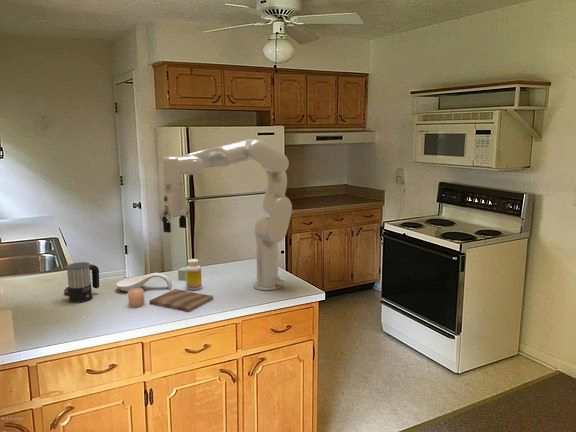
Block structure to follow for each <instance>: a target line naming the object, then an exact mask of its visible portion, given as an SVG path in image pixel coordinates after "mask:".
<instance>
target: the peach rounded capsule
mask: <svg viewBox="0 0 576 432" xmlns="http://www.w3.org/2000/svg"><path fill="white" fill-rule="evenodd" d="M144 293H145V292H144V288H142V287H141V288H134V289H130V290H129V291H128V292H127V299H128V307H129V306H130V307H129V308H132V307H136V308H141V307H143V306H145V294H144ZM140 306H141V307H140Z"/></svg>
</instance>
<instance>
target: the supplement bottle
mask: <svg viewBox="0 0 576 432" xmlns="http://www.w3.org/2000/svg"><path fill="white" fill-rule="evenodd" d="M185 267H186V281H185V282H186V283H185V284H186V286H185V287H186V289H187V291H196V290H200V289H202V267H201V265H199V259H197V258H191V259H188V260H187V266H185Z"/></svg>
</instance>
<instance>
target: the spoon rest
mask: <svg viewBox="0 0 576 432" xmlns="http://www.w3.org/2000/svg"><path fill="white" fill-rule="evenodd" d="M152 278H160V279H162V280H163V281H165V282H166V285H167V289H168V290H171V289H172V286H173V285H172V284H173V283H172V280H171V279H170V277H169V276H167V275H166V274H164V273H161V272H151V273H147V274H145V275H141V276H135V277H129V278H125V279H121V280H119V281H117V282H116V284H115V287H116V288H117V289H118V290H119V291H122V292H126V293H128V291H129V290H130V289H134V288H142V287H143V285H145V284H146V283H147V282H148V281H149V280H150V279H152Z"/></svg>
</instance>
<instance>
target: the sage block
mask: <svg viewBox="0 0 576 432" xmlns="http://www.w3.org/2000/svg"><path fill="white" fill-rule="evenodd" d="M186 267H187V266H185V267H183V266H182V267H180V268H179V269H178V270H177V273H178V274H177V277H178V281H183V282H184V281H185V282H186Z"/></svg>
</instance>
